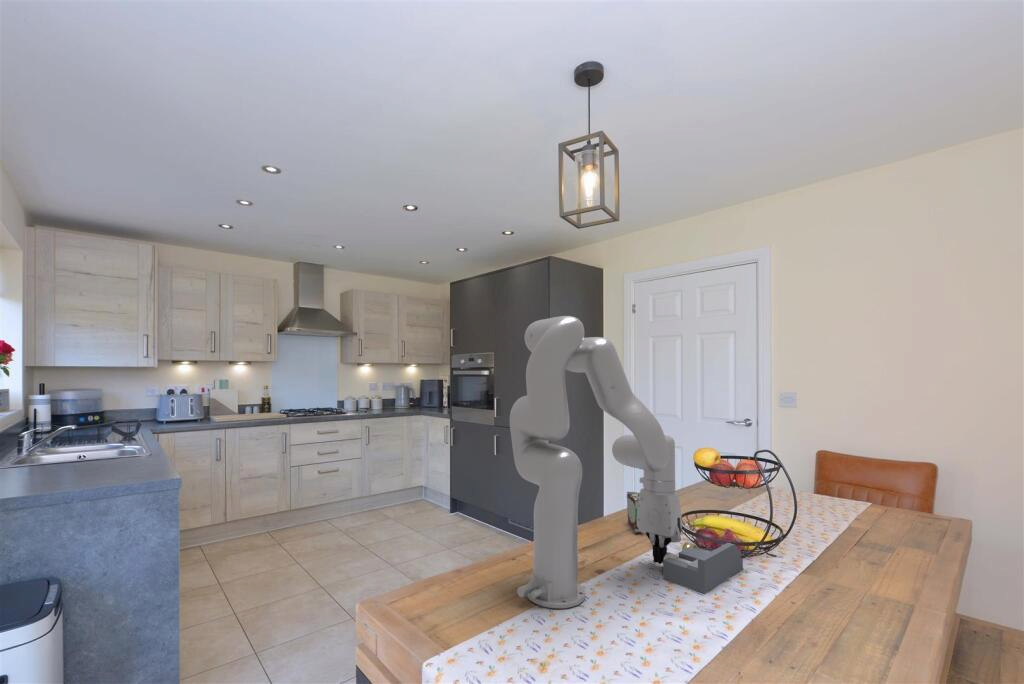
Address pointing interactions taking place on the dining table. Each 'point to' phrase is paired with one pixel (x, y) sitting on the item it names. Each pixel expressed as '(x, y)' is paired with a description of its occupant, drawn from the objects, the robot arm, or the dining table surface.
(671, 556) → the light grey capped cylinder
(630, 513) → the food container
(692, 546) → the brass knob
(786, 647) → the dining table surface
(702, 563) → the mount
